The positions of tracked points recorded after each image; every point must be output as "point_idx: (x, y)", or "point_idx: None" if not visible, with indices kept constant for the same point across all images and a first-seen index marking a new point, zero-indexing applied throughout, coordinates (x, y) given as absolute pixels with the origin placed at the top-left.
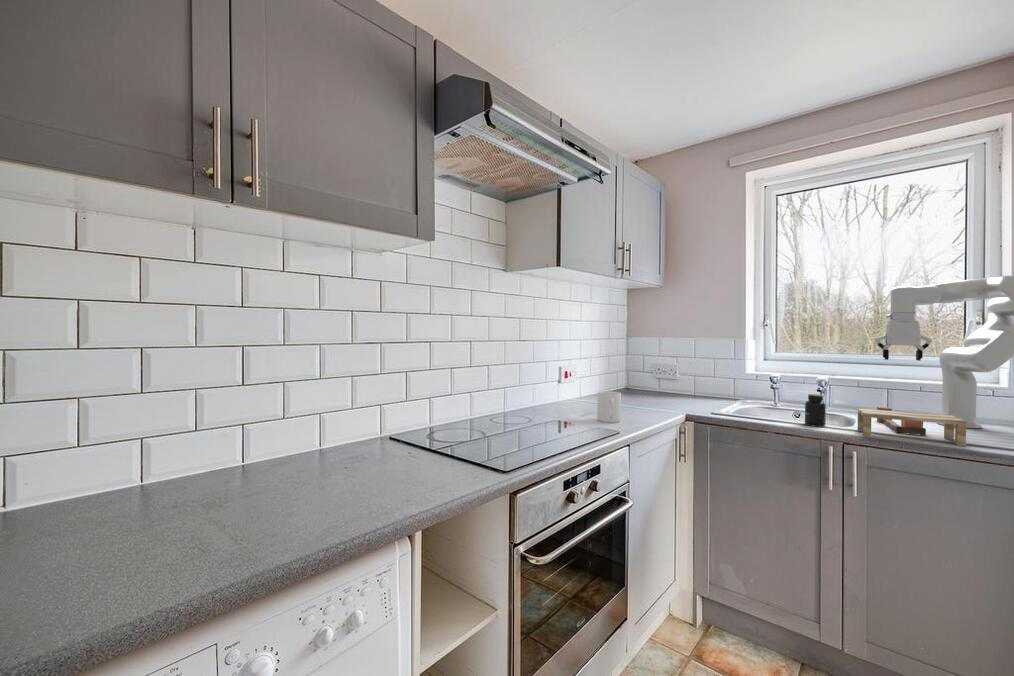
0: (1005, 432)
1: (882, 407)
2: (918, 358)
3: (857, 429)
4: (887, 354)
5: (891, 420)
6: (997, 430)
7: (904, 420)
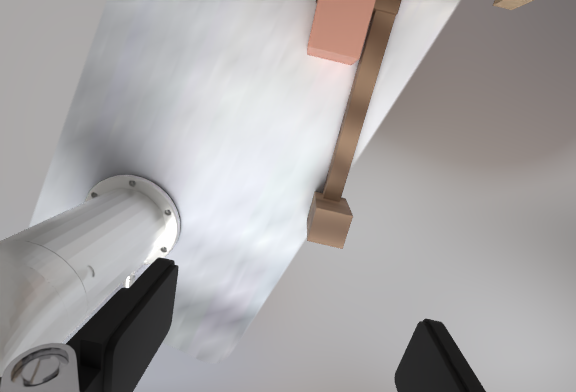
0: (56, 146)
1: (333, 234)
2: (168, 272)
3: (513, 8)
4: (460, 366)
5: (335, 158)
6: (64, 172)
7: (373, 7)
